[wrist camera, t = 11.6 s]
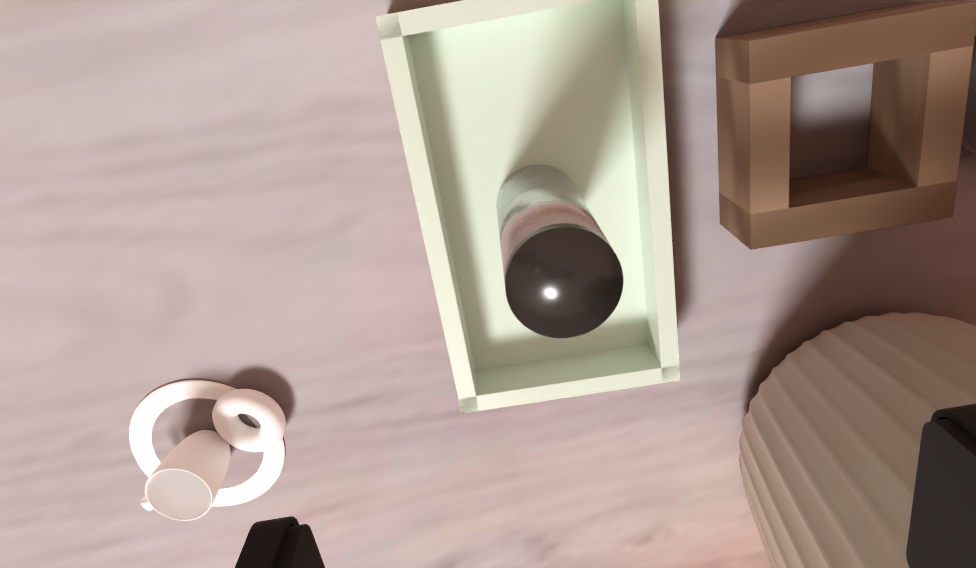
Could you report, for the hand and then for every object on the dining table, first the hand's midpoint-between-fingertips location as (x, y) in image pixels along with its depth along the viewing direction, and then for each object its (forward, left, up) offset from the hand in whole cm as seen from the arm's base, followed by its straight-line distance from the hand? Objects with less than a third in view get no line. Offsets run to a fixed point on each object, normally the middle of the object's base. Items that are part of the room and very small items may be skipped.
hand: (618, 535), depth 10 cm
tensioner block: (-1, +16, -20) cm, 26 cm away
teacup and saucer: (+12, -16, -21) cm, 29 cm away
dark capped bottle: (0, 0, -19) cm, 19 cm away
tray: (0, +1, -20) cm, 20 cm away
